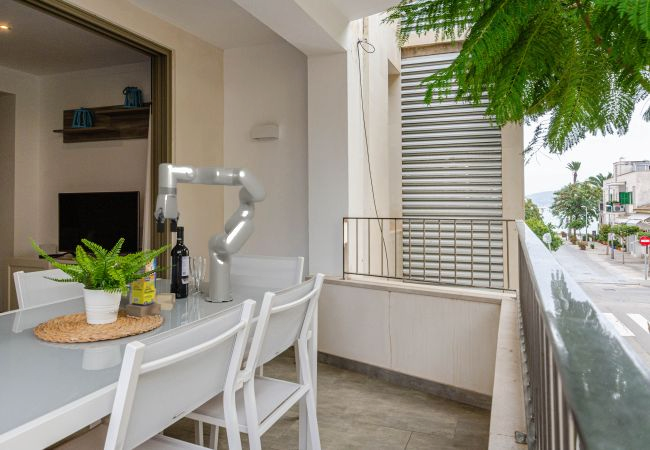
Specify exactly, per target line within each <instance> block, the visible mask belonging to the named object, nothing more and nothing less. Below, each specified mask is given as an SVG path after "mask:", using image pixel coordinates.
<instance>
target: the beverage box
mask: <svg viewBox="0 0 650 450" xmlns="http://www.w3.org/2000/svg"><path fill="white" fill-rule="evenodd" d="M154 269H156V270H157V256H156V257H155V258H153V259H152V260H151V262H150V263H149V264H147V265H145V266H144V267H143V268H141V269H140V270H139V271H138V272H137V274H143V273H146V272H149V271H152V270H154ZM149 276H155V293H154V303H156V296H157V271H156V272H154V273H152V274H150V275H149ZM128 291H129V294H128V295H129V299H128V304H132V282H131V283H130V282H129V290H128Z"/></svg>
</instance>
